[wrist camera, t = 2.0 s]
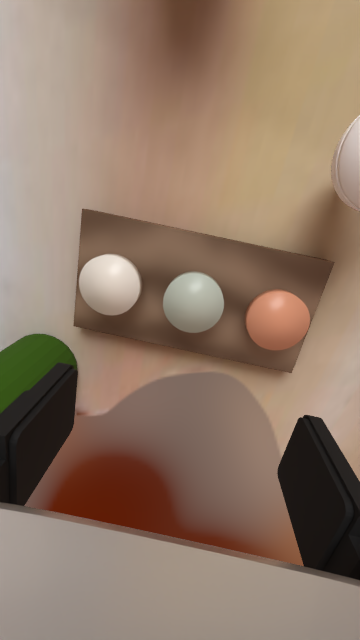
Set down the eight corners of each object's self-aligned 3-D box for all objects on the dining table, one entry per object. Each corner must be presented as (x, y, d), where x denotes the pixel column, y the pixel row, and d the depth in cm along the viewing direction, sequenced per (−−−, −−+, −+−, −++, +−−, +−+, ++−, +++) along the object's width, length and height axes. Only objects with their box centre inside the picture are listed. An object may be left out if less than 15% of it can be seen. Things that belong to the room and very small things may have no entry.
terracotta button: (256, 351, 30) (259, 358, 29) (236, 302, 29) (238, 307, 27) (311, 331, 29) (317, 337, 28) (294, 279, 27) (299, 282, 26)
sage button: (179, 335, 30) (178, 341, 29) (155, 285, 29) (152, 289, 27) (231, 314, 29) (233, 319, 28) (209, 261, 28) (209, 263, 26)
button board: (286, 364, 34) (291, 373, 32) (80, 320, 35) (73, 326, 33) (326, 259, 30) (334, 262, 28) (89, 209, 30) (82, 208, 28)
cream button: (103, 319, 30) (98, 324, 29) (74, 268, 29) (67, 271, 27) (151, 297, 29) (149, 301, 28) (124, 243, 28) (120, 244, 26)
